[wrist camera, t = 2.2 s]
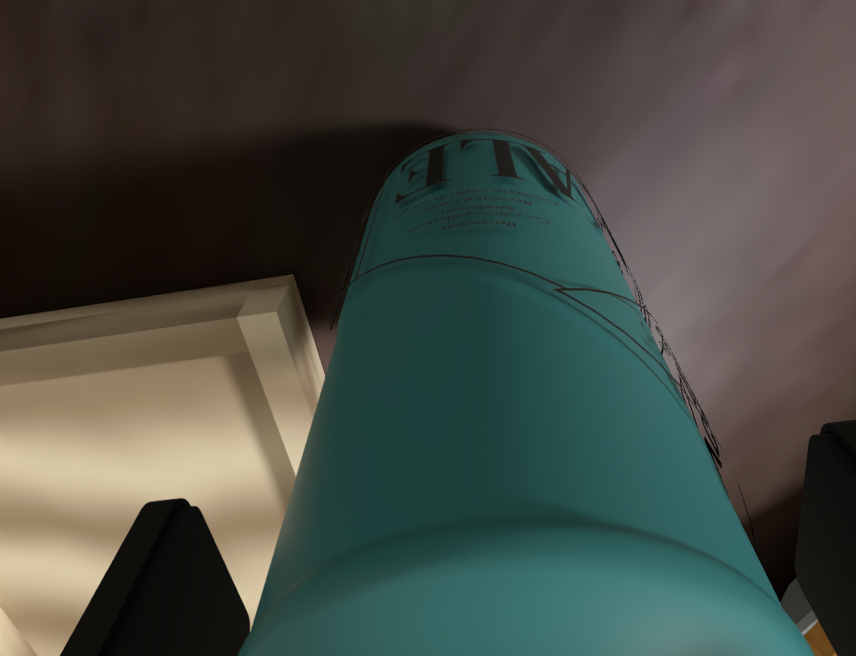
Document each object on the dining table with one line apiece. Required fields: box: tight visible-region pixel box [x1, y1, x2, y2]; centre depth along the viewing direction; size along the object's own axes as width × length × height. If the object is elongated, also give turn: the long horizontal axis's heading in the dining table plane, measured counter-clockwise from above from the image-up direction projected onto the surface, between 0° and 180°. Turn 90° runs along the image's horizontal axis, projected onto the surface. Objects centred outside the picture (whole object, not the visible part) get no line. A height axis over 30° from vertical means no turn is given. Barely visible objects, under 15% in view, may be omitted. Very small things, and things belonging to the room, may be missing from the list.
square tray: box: [0, 275, 325, 656], centre depth 26 cm, size 18×18×2 cm
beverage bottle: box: [238, 129, 815, 656], centre depth 12 cm, size 6×7×20 cm
